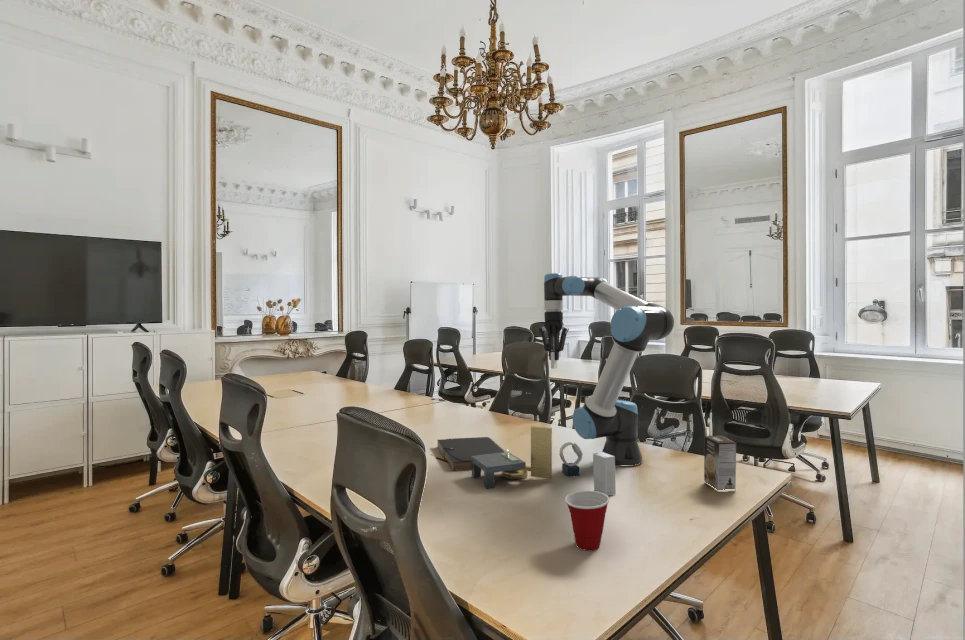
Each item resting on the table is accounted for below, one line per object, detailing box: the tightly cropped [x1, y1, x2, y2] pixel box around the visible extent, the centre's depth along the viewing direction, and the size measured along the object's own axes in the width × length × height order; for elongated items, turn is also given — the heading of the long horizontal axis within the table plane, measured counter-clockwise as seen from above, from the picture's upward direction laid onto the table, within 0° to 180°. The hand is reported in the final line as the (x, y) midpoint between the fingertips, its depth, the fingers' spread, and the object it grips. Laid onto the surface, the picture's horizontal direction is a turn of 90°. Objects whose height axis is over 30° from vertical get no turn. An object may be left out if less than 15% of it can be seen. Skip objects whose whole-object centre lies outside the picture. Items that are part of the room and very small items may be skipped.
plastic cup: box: [564, 490, 610, 551], centre depth 126 cm, size 11×11×12 cm
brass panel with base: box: [501, 425, 553, 480], centre depth 178 cm, size 9×17×18 cm, turn 81°
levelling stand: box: [471, 449, 527, 490], centre depth 175 cm, size 14×14×9 cm
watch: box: [558, 441, 583, 478], centre depth 181 cm, size 6×8×11 cm
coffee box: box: [703, 434, 737, 490], centre depth 167 cm, size 9×6×16 cm
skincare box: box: [592, 451, 617, 497], centre depth 162 cm, size 6×4×12 cm
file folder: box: [437, 436, 505, 472], centre depth 203 cm, size 33×4×24 cm
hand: (554, 368), depth 211 cm, fingers closed
